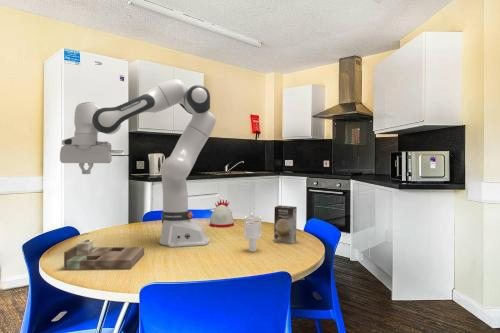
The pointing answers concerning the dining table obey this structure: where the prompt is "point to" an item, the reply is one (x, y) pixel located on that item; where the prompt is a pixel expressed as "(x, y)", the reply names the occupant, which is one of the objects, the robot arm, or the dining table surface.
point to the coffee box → (285, 224)
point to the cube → (84, 248)
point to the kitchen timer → (221, 216)
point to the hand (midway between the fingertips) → (86, 174)
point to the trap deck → (103, 258)
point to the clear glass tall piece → (252, 230)
